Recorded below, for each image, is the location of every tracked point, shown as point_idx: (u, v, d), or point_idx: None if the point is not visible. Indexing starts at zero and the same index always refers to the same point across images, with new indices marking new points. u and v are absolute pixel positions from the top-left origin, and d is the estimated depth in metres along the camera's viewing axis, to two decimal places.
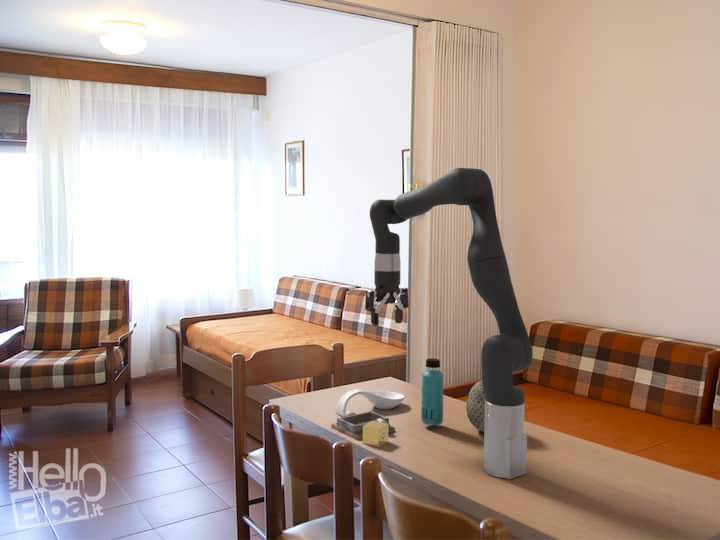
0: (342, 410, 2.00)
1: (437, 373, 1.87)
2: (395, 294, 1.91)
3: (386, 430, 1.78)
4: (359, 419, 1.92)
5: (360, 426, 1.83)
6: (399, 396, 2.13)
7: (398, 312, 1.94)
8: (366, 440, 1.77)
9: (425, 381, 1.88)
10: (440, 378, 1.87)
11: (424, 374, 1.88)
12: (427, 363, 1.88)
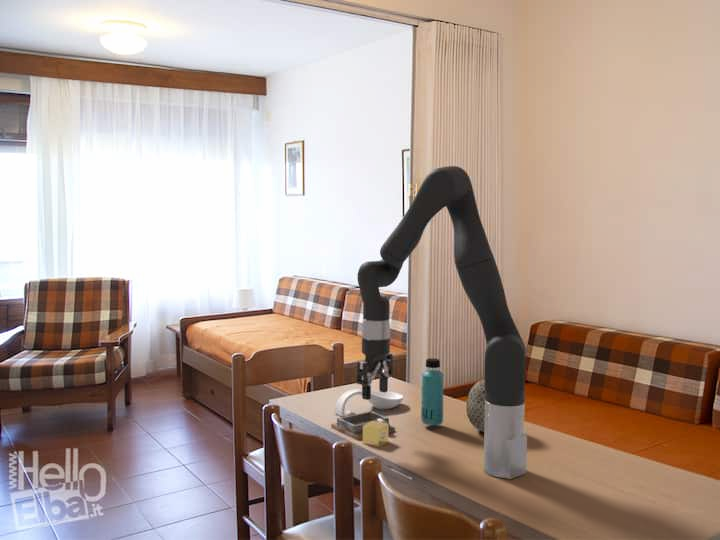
0: (340, 410, 2.00)
1: (437, 373, 1.87)
2: None
3: (386, 430, 1.78)
4: (359, 419, 1.92)
5: (360, 426, 1.83)
6: (398, 396, 2.13)
7: None
8: (366, 440, 1.77)
9: (425, 381, 1.88)
10: (440, 378, 1.87)
11: (424, 374, 1.88)
12: (427, 363, 1.88)
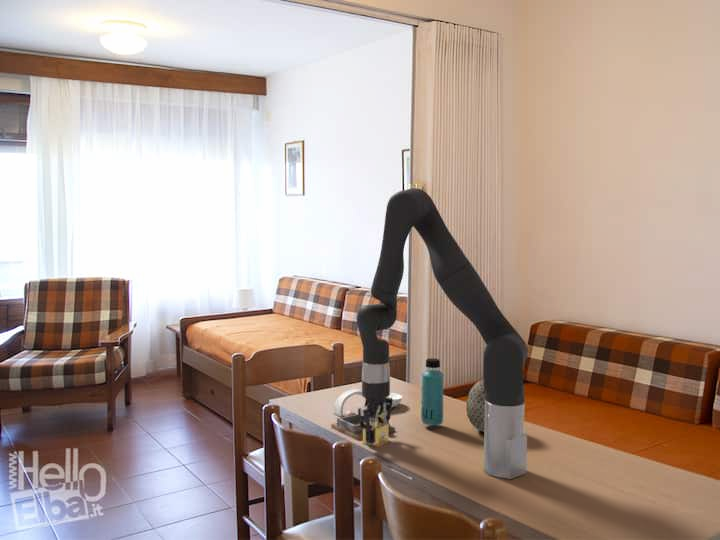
0: (339, 410, 2.00)
1: (437, 373, 1.87)
2: None
3: (386, 430, 1.78)
4: None
5: None
6: (397, 396, 2.13)
7: None
8: None
9: (425, 381, 1.88)
10: (440, 378, 1.87)
11: (424, 374, 1.88)
12: (427, 363, 1.88)
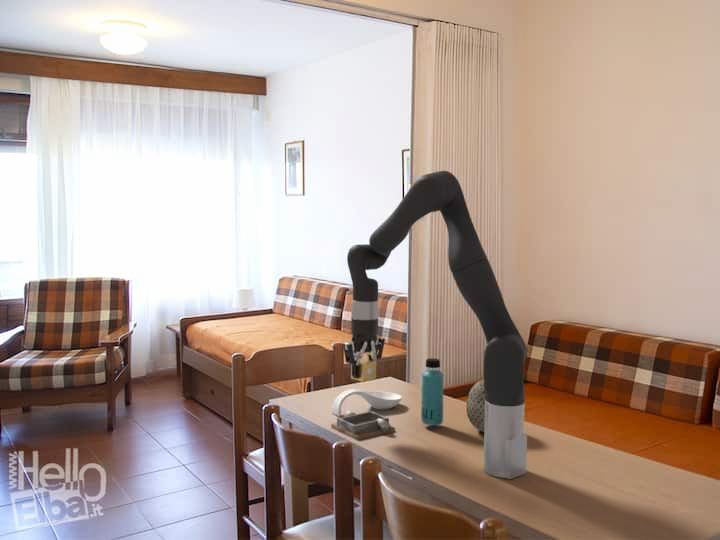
0: (337, 410, 2.00)
1: (437, 373, 1.87)
2: None
3: (373, 367, 1.83)
4: (359, 419, 1.92)
5: (360, 426, 1.83)
6: (397, 397, 2.12)
7: None
8: None
9: (425, 381, 1.88)
10: (440, 378, 1.87)
11: (424, 374, 1.88)
12: (427, 363, 1.88)
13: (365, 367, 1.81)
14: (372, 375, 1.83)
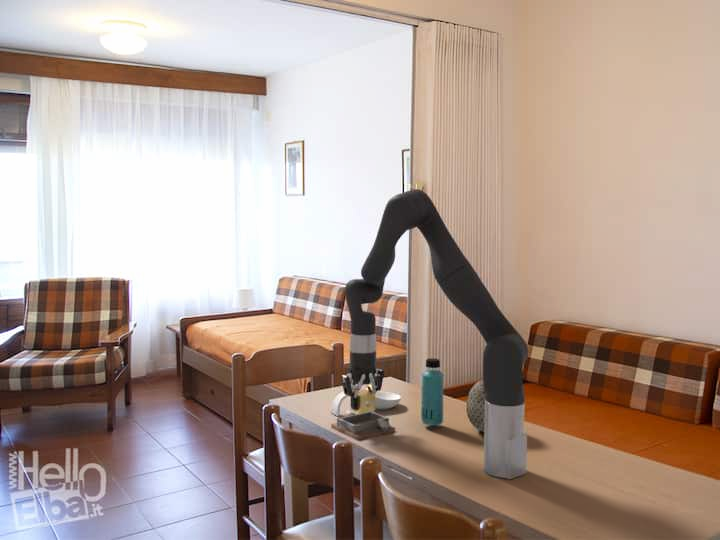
0: (336, 410, 2.00)
1: (437, 373, 1.87)
2: None
3: (372, 399, 1.87)
4: (359, 419, 1.92)
5: (360, 426, 1.83)
6: (396, 397, 2.12)
7: None
8: None
9: (425, 381, 1.88)
10: (440, 378, 1.87)
11: (424, 374, 1.88)
12: (427, 363, 1.88)
13: (363, 399, 1.85)
14: (371, 407, 1.87)
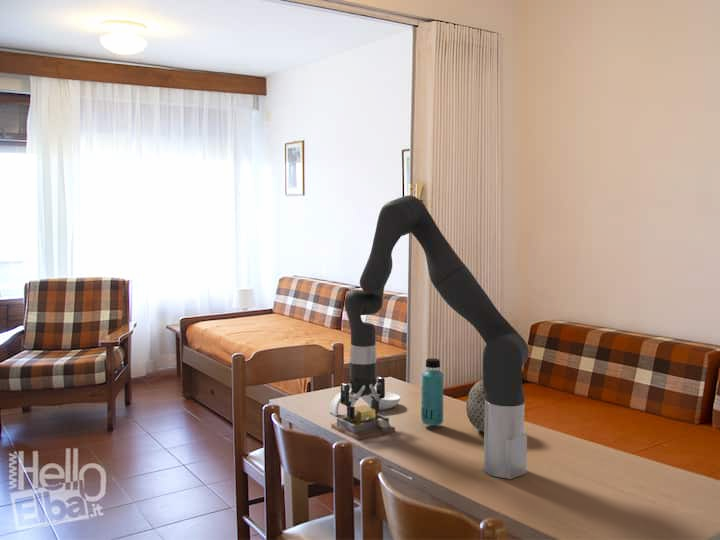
0: (334, 409, 2.01)
1: (437, 373, 1.87)
2: None
3: (372, 415, 1.87)
4: None
5: (360, 426, 1.83)
6: (396, 397, 2.12)
7: None
8: (353, 422, 1.88)
9: (425, 381, 1.88)
10: (440, 378, 1.87)
11: (424, 374, 1.88)
12: (427, 363, 1.88)
13: (363, 415, 1.85)
14: None
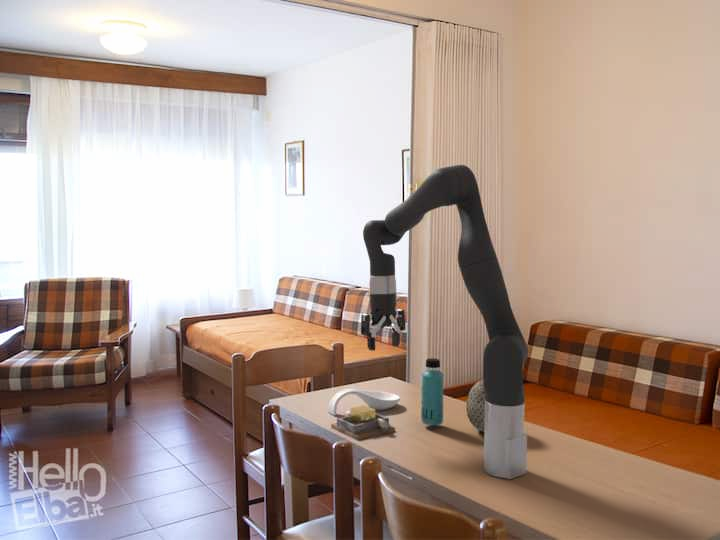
0: (333, 409, 2.01)
1: (437, 373, 1.87)
2: None
3: (372, 415, 1.87)
4: None
5: (360, 426, 1.83)
6: (395, 397, 2.12)
7: None
8: (353, 422, 1.88)
9: (425, 381, 1.88)
10: (440, 378, 1.87)
11: (424, 374, 1.88)
12: (427, 363, 1.88)
13: (363, 415, 1.85)
14: None
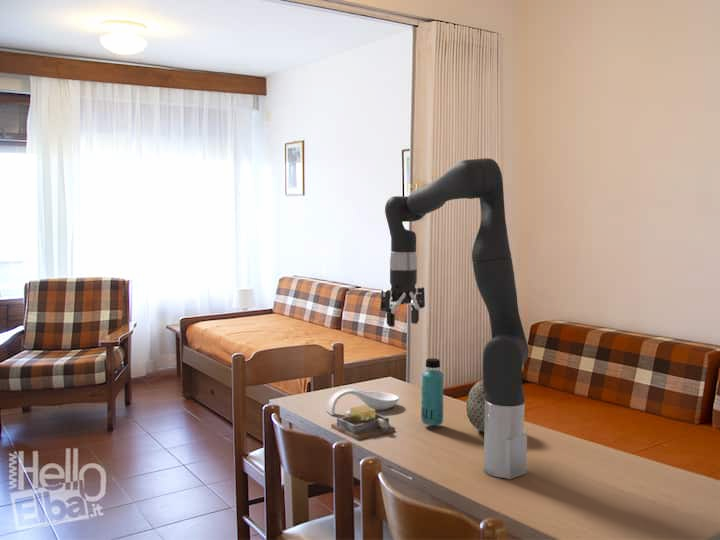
0: (331, 409, 2.01)
1: (437, 373, 1.87)
2: None
3: (372, 415, 1.87)
4: None
5: (360, 426, 1.83)
6: (395, 398, 2.11)
7: None
8: (353, 422, 1.88)
9: (425, 381, 1.88)
10: (440, 378, 1.87)
11: (424, 374, 1.88)
12: (427, 363, 1.88)
13: (363, 415, 1.85)
14: None
